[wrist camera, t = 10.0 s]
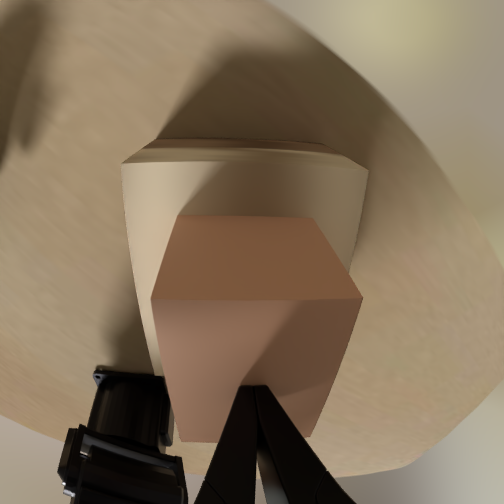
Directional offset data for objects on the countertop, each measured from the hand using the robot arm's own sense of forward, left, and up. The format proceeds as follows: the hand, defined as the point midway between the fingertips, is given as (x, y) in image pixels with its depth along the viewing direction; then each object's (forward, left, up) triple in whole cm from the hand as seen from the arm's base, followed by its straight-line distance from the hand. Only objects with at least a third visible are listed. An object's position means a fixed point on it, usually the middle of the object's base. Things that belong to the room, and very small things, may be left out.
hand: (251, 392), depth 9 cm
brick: (0, 0, -5) cm, 5 cm away
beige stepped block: (0, 0, -11) cm, 11 cm away
